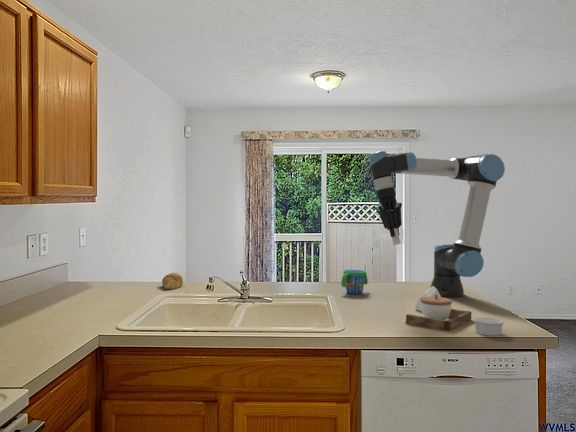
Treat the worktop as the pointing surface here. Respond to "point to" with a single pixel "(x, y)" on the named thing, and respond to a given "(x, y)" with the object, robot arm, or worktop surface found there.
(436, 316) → the lidded jar
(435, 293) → the white rounded prism
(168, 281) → the bread loaf
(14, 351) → the worktop surface
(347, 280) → the snack cup
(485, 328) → the ramekin
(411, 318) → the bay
